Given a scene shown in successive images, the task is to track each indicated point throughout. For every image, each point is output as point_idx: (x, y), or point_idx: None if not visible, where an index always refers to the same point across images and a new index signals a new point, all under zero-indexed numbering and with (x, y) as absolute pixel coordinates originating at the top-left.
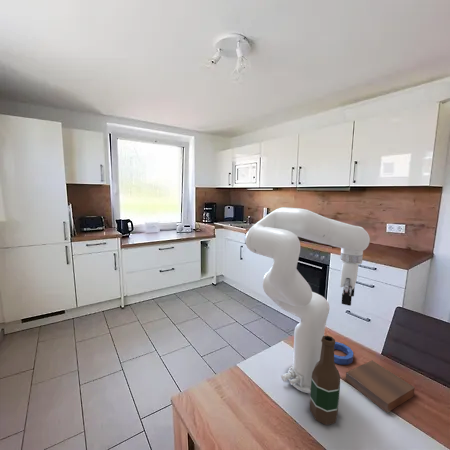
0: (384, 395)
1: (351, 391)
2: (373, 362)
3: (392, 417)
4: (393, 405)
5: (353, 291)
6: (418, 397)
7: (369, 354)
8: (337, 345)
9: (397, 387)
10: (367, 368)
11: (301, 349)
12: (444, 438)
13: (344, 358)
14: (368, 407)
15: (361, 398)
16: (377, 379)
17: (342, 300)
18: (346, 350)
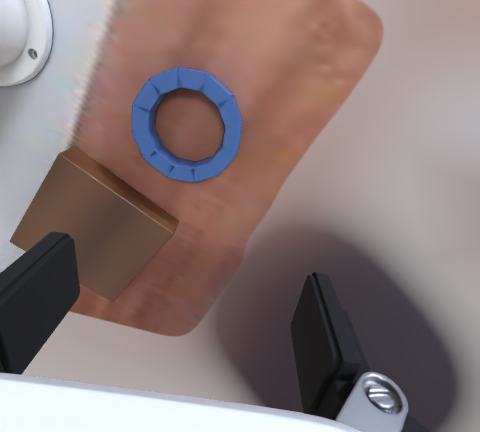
0: (34, 239)
1: (39, 159)
2: (162, 235)
3: None
4: None
5: (297, 370)
6: (123, 293)
7: (244, 224)
8: (225, 127)
9: (87, 270)
10: (121, 215)
11: None
12: None
13: (142, 151)
14: (14, 194)
15: (32, 182)
16: (86, 233)
17: (32, 255)
18: (211, 159)
